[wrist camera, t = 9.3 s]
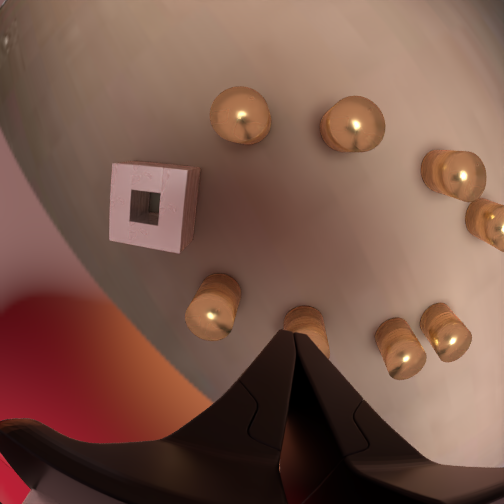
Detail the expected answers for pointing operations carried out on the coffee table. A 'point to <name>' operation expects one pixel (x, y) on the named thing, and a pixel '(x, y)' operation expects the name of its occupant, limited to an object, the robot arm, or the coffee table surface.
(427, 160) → the spacers
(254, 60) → the coffee table surface
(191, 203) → the zinc nut
